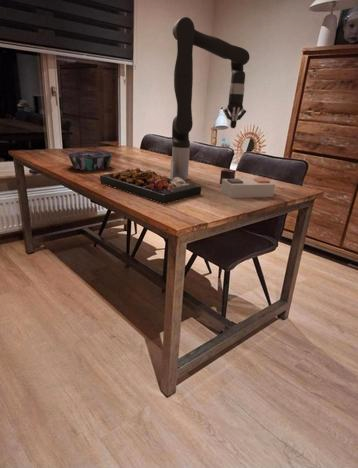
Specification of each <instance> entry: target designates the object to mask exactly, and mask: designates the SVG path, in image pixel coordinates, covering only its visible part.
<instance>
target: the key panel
mask: <svg viewBox="0 0 358 468" xmlns="http://www.w3.org/2000/svg"><path fill="white" fill-rule="evenodd" d="M239 179H240V180H241V181H243V183H238V184H231V183H230V182H228V181H227V179H222V184H221V189H220V191H221V192H222V193H223V194H224V195H226V196H227V197H229V198H231V199H237V198H241V199H242V198H273V197H274V193H275V189H276V184H275V183H274V182H272V181H270V183H257V182H255V181H254V178H239Z"/></svg>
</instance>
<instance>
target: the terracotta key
mask: <svg viewBox="0 0 358 468" xmlns="http://www.w3.org/2000/svg"><path fill="white" fill-rule="evenodd" d="M253 179H254V181H255V182H257V183H270V182H271V181H270V180H268V179H266V178H264V177H257V178H253Z"/></svg>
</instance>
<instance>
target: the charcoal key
mask: <svg viewBox="0 0 358 468" xmlns="http://www.w3.org/2000/svg"><path fill="white" fill-rule="evenodd" d="M240 179H241V178H235V179H227V181H228V182H230V183H231V184H238V183H243V181H241V180H240Z"/></svg>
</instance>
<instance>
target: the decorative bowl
mask: <svg viewBox="0 0 358 468" xmlns="http://www.w3.org/2000/svg"><path fill="white" fill-rule="evenodd" d="M67 156H68V157H69V159H70V163H71V164H72V168H74V169H76V170H77V169H80V170H79V171H81V170H85V171H86V170H88V171H87V172H89V171H90V172H91V170H94V171H100V169H101V170H107V169H108V168H110V165H111V162H112V159H113V156H114V153H112V152H110V151H105V150H78V151H71V152H68V153H67Z"/></svg>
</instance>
